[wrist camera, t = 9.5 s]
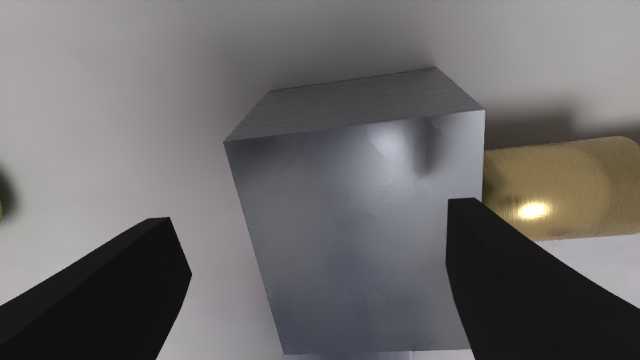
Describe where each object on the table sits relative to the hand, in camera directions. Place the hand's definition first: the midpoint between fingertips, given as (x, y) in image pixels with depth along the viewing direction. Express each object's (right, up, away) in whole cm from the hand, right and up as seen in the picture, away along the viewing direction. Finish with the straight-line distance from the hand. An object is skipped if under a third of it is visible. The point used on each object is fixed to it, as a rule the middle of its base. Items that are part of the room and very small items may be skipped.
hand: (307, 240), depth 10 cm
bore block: (+3, +2, +10) cm, 10 cm away
